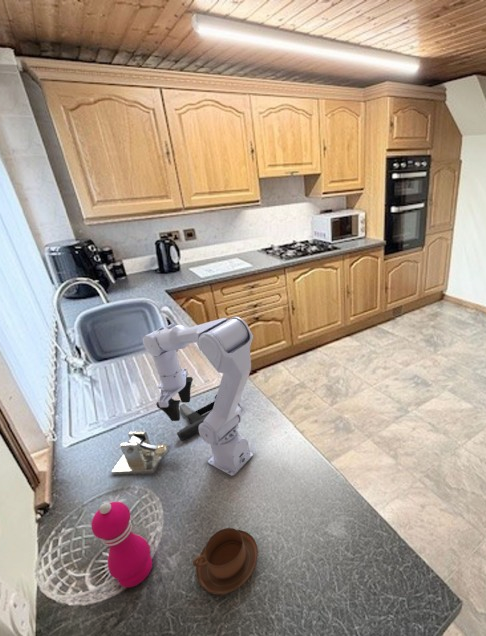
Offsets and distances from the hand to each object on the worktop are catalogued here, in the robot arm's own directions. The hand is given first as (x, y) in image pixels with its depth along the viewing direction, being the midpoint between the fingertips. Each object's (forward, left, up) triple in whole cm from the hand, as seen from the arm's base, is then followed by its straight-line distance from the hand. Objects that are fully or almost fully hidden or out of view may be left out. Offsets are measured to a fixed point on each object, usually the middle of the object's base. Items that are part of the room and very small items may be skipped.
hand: (181, 410), depth 98 cm
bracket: (+5, +12, -10) cm, 17 cm away
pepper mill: (-20, +30, -11) cm, 38 cm away
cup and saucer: (-36, +20, -11) cm, 43 cm away
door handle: (+4, -9, -11) cm, 14 cm away
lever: (+3, +11, -7) cm, 13 cm away
